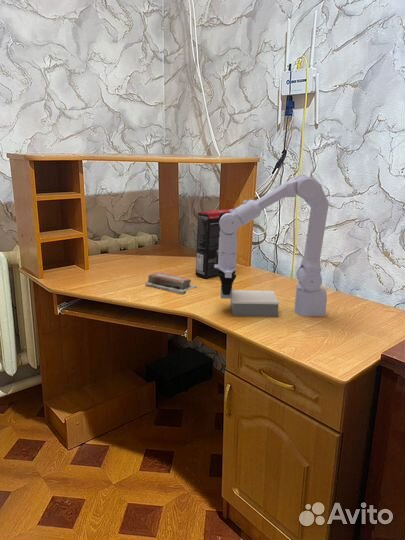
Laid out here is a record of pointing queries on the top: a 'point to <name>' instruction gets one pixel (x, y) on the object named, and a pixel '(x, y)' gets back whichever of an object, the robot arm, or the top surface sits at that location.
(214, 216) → the graphics card box
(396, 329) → the top surface
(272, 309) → the gray open box
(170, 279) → the packaged product
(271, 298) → the white slab
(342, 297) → the top surface
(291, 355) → the top surface
